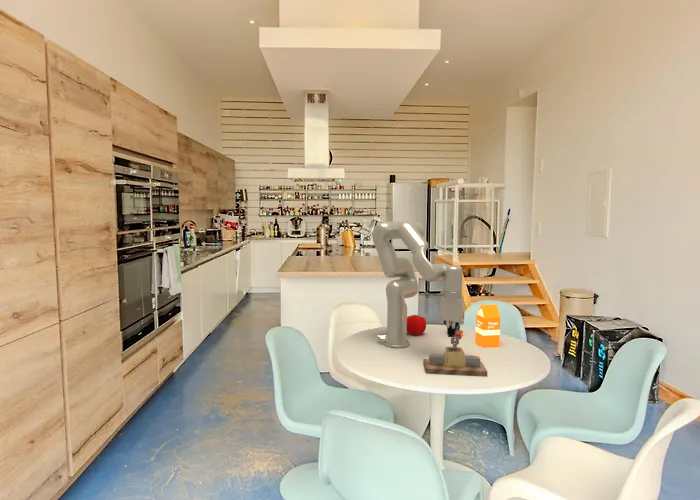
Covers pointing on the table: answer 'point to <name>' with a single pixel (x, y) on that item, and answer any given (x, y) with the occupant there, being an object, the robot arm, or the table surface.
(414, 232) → the robot arm
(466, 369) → the board
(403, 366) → the table surface
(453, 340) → the lever
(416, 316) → the tomato
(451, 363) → the valve
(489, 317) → the orange juice
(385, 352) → the table surface
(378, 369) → the table surface
